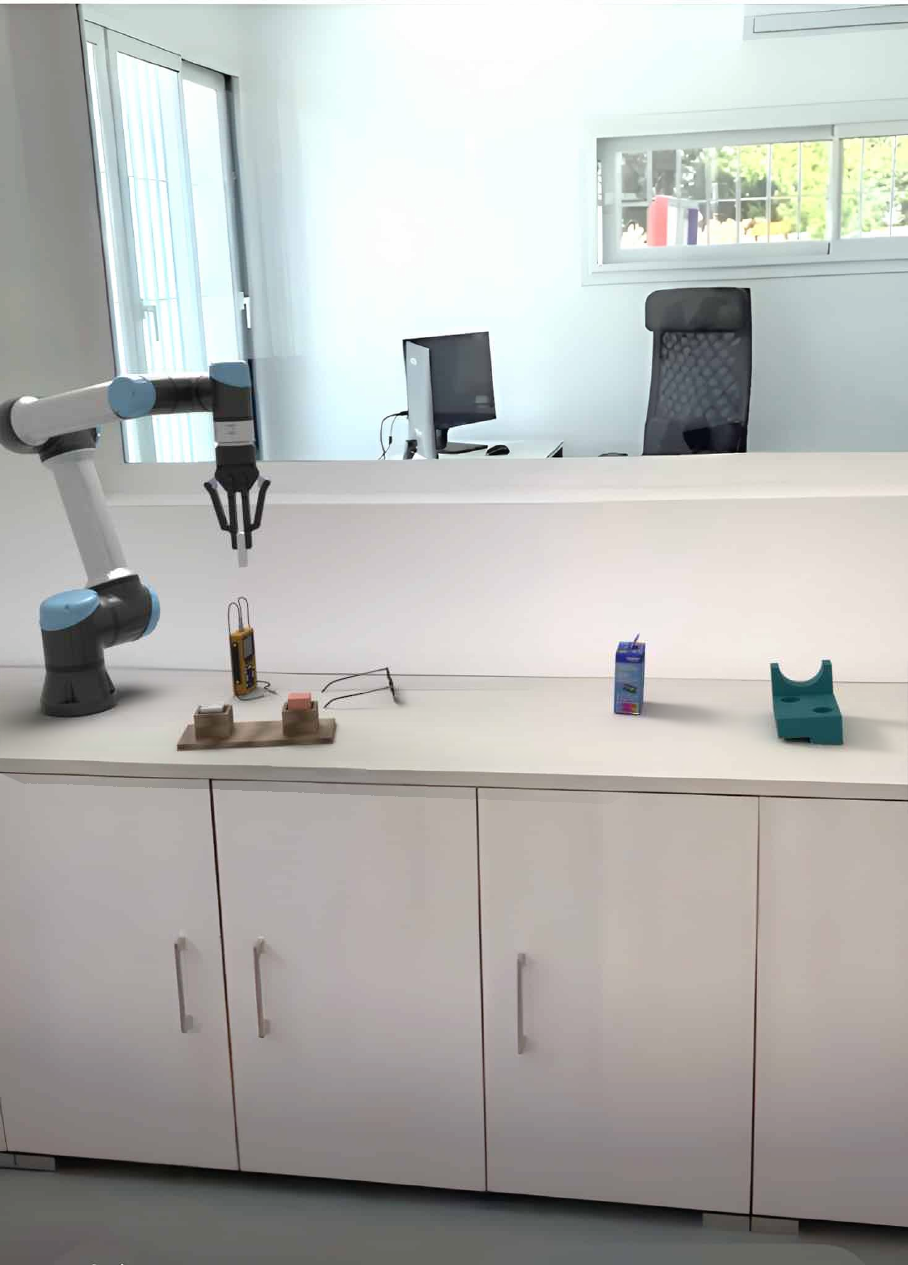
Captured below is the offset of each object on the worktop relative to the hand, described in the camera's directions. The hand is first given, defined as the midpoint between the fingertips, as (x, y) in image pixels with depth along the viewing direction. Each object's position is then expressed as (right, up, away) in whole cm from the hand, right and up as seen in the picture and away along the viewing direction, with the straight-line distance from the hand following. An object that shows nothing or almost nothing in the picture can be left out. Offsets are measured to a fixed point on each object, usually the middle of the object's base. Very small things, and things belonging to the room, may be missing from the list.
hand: (243, 565), depth 226 cm
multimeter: (0, -26, +21) cm, 33 cm away
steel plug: (-3, -31, -10) cm, 33 cm away
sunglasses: (+21, -27, +14) cm, 37 cm away
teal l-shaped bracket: (+105, -31, -15) cm, 111 cm away
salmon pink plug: (+13, -30, -10) cm, 34 cm away
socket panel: (+5, -32, -10) cm, 34 cm away
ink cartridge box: (+75, -28, +1) cm, 81 cm away
